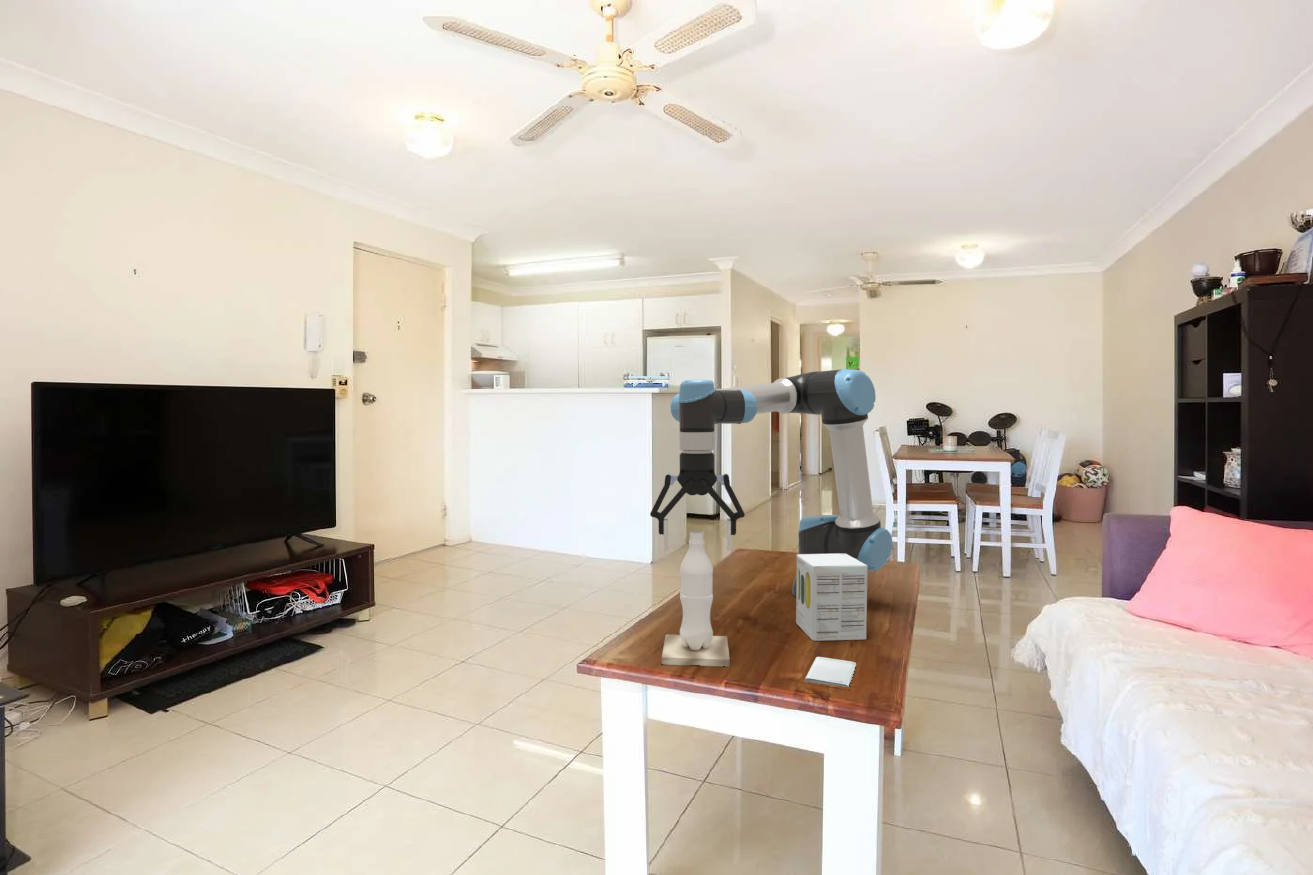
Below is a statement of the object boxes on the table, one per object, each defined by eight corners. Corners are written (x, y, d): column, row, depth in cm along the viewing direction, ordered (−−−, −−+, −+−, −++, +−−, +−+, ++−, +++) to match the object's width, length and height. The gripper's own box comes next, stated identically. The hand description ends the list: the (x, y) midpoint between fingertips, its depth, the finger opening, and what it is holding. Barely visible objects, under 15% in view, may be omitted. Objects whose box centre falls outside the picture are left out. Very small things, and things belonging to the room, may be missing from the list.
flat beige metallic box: (726, 642, 145) (727, 636, 145) (729, 666, 131) (729, 659, 131) (665, 641, 146) (665, 634, 146) (661, 664, 132) (661, 657, 132)
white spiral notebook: (848, 685, 120) (856, 661, 131) (804, 677, 123) (815, 655, 135) (848, 693, 120) (856, 669, 131) (804, 686, 123) (815, 663, 135)
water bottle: (690, 654, 134) (690, 536, 133) (673, 643, 140) (674, 530, 139) (719, 648, 137) (719, 533, 136) (701, 638, 144) (702, 528, 143)
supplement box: (794, 623, 159) (795, 553, 159) (845, 621, 161) (846, 552, 160) (812, 641, 146) (813, 566, 146) (867, 640, 147) (868, 564, 147)
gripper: (753, 450, 140) (753, 546, 141) (641, 450, 142) (641, 545, 143) (756, 452, 133) (756, 554, 134) (637, 453, 134) (638, 552, 135)
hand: (697, 549), depth 138 cm, fingers open, 13 cm apart
